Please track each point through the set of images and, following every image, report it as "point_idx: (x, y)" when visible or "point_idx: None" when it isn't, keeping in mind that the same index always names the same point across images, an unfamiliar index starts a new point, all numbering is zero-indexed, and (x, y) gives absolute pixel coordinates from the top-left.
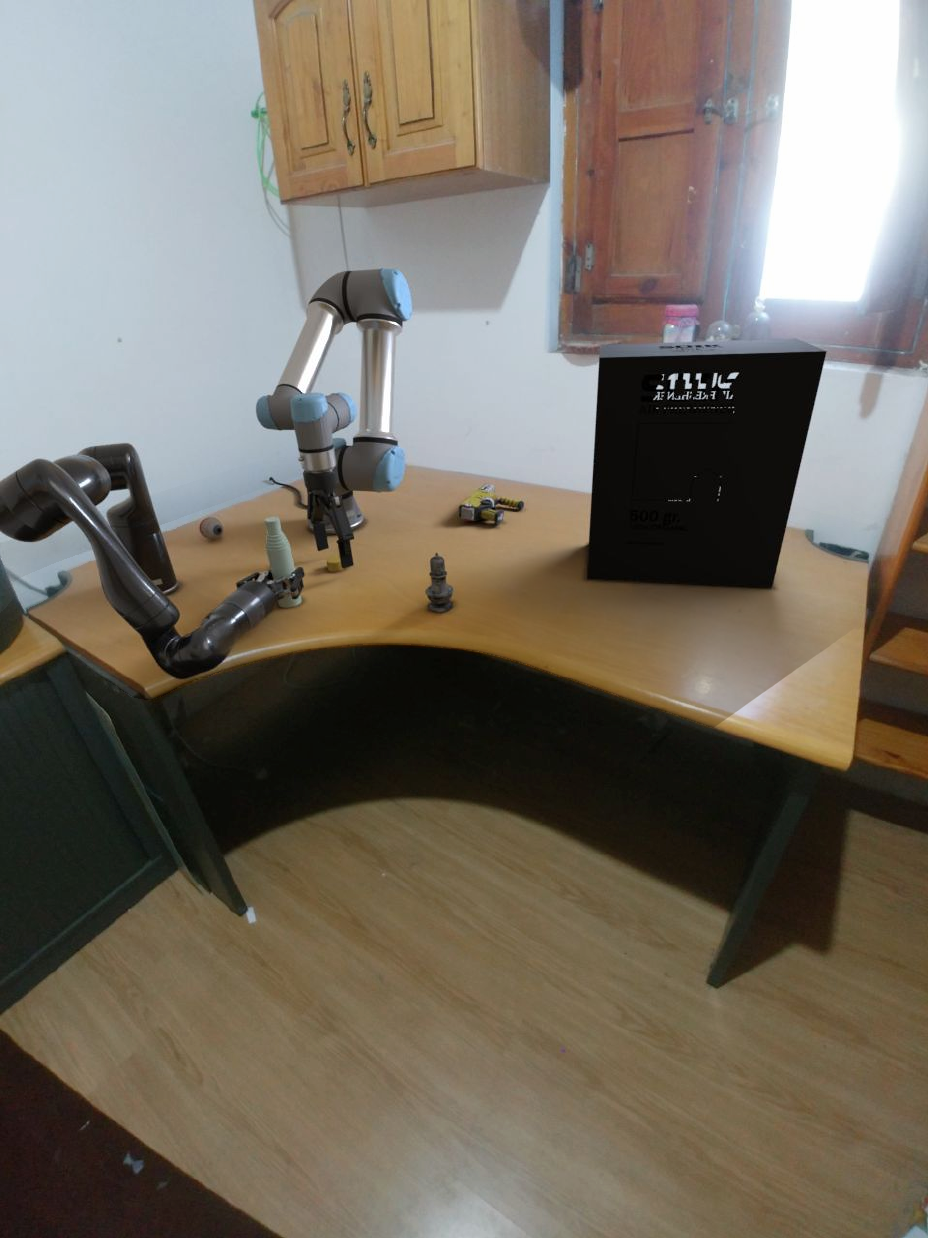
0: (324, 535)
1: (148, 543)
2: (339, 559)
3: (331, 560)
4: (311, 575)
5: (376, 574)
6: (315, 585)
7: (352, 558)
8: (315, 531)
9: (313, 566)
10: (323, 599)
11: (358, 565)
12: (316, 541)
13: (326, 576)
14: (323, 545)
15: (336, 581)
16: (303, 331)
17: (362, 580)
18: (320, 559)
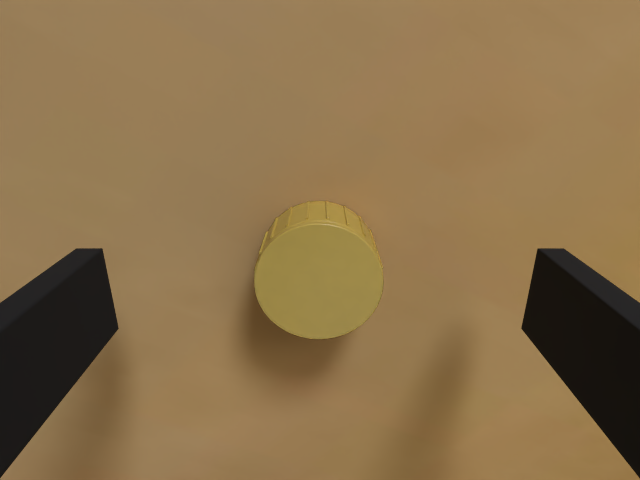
0: (28, 333)
1: None
2: (347, 263)
3: (321, 312)
4: (305, 391)
5: (619, 89)
6: (436, 418)
7: (599, 276)
8: (5, 469)
9: (192, 341)
10: (604, 445)
11: (382, 117)
12: (65, 382)
13: (379, 341)
14: (92, 306)
15: (483, 327)
16: None
17: (607, 210)
18: (110, 271)
